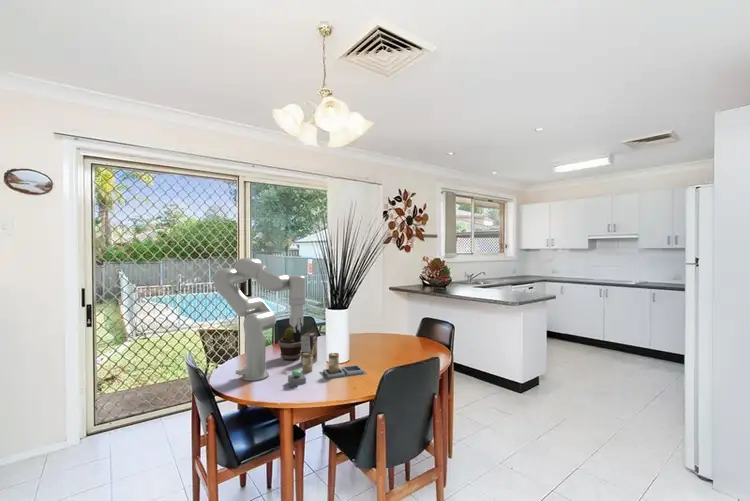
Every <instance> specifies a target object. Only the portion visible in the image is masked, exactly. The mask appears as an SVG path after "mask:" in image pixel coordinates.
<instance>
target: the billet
mask: <svg viewBox="0 0 750 501" xmlns="http://www.w3.org/2000/svg"><path fill="white" fill-rule="evenodd" d="M302 357H303V363H302V365H301V366H302V370H301V371H302V373H303V374H304V373H305V374H307V373H312V372H313V364H312V353H303V355H302Z"/></svg>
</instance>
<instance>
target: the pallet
mask: <svg viewBox="0 0 750 501" xmlns="http://www.w3.org/2000/svg"><path fill="white" fill-rule="evenodd" d="M318 373H319V374H320V375H321V377H323V379H324V380H325V381H328V380H334V379H335V380H336V379H341V378H348V377H355V376H357V377H358V376H363V375H368V373H367V371H365V370H364V369H363V368H362V367H361V366H359V364H356V365H349V366H342V367H339V373H334V374H329V368H325V369H323V370H322V371H318Z"/></svg>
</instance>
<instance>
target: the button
mask: <svg viewBox="0 0 750 501" xmlns="http://www.w3.org/2000/svg"><path fill="white" fill-rule="evenodd" d="M302 373H303V372H302V370H301V369H293V370H292V371H291V375H293V376H295V378H298V377H299V375H301V374H302Z"/></svg>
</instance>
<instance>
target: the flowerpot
mask: <svg viewBox="0 0 750 501" xmlns="http://www.w3.org/2000/svg"><path fill="white" fill-rule="evenodd" d="M277 344H278V347H279V349H280V358H281V359H282V361H288V362H289V361H290V362H293V361H297V360H299V359H301V336H300V341H293V327H292V326H289V327H288V328H286V329H285V331H284V335H283V337H281V338H279V340H278V342H277Z"/></svg>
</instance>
